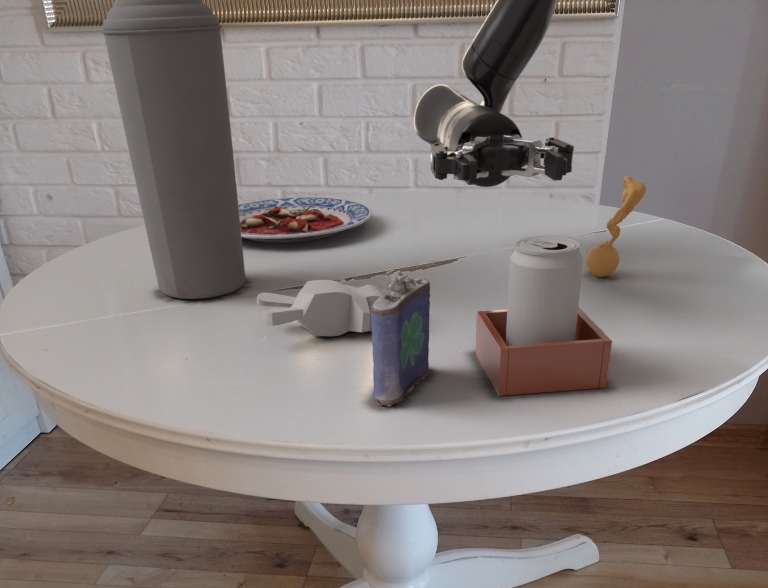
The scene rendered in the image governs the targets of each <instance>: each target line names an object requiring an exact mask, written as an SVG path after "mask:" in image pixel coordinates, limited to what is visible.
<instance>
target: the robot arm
mask: <svg viewBox="0 0 768 588" xmlns="http://www.w3.org/2000/svg"><path fill="white" fill-rule="evenodd" d="M557 1H558V0H496V1H495V4H494V5H493V6H492V8H491V10H490V12H489V13H488V15H487V16H486V18H485V20H484V22H483V23H482V25H481V27H480V28H479V30H478V31H477V33H476V35H475V36H474V38H473V40H472V41H471V43H470V45H469V46H468V48H467V50H466V52H465V54H464V56H463V57H462V61H461V70H462V73H463V75H464V76H465V78H466V79H467V80H468V81H469V82H470V84H472V86H474V88H475V89H476V90H477V91H478V92H479V93H480V95H481V96H482V99H481V102H480V103H478V102H475V101H473V100H472V99H470V98H469V97H467V96H466V95H464V94H462V93H461V92H459V91H458V90H456V89H454V88H452V87H451V86H450V85H447V84H443V83H442V84H435V85H434V86H432V87H430V88H429V89H427V90H426V91H425V92H424V93H423V94H422V96H421V97H420V99H419V100H418V102H417V104H416V107H415V110H414V114H413V127H414V131H415V133H416V135H417V136H418V138H419V139H421V140H422V141H423V142H426V143H427V144H429V145H430V172H431V173H432V175H433V177H434V178H435V179H436V180H439V181H443V180H446V179H448V175H453V179H454V180H456V181H463V182H465V183H466V185H468V186H477V187H482V188H491V187H496V186H499V185H501V184H503V183H504V182H505V181H507V180H509V179H510V177H512V176H519V177H520V176H521V177H526V178H531V177H536V176H538V175H540V174H541V175H545V176H547V177H548V178H549V179H551V180H552V181H556V182H557V181H562V180H563V176H566V175H568V174H569V173H572V172H573V171H572V170H573V156H574V151H575V150H574V149H575V146H574V145H572V144H570V143H568V142H566V141H563V140H560V139H559V138H555V137H552V136H551V137H549V138H545V141H544V144H543V143H542V141H541V139H534V138H526V137H523V136H522V133H521V130H520V129H519V127H518V126H517V124H516V123H515V121H513V120H512V119H511V118H510V117H508V116H507V115H505V114H503V113H502V111H503V108H504V105H505V103H506V100H507V99H508V96H509V94H510V92H511V90H512V88H513V87H514V85H515V83H516V82H517V80H518V78H519V77H520V76H521V75H522V73H523V71H524V70H525V69H526V67H527V66H528V64H529V63H530V61H531V60H532V58H533V57H534V55H535V54H536V52H537V50H538V49H539V47H540V45H541V44H542V41H543V40H544V38H545V36H546V34H547V32H548V30H549V27H550V25H551V21H552V19H553V15H554V12H555V9H556V5H557ZM541 159H543V163H542V164H543V165H542V164H541ZM526 166H527V167H526ZM525 167H526V168H525Z"/></svg>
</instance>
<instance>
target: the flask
mask: <svg viewBox="0 0 768 588" xmlns="http://www.w3.org/2000/svg"><path fill="white" fill-rule="evenodd" d="M388 276H390V283H389V284H388V286H387V287H388V290H386V291H385V292H384V293H383V295H381V296H380V297H379V298H378V299H377V300H376V301H375V302H374V303H373V305H372V307H371V323H372V332H371V340H372V342H371V343H372V361H373V362H372V363H373V365H372V366H373V367H372V376H373V377H372V378H373V379H372V380H373V399H374V402H375V404H377V406H387V407H388V408H389V407H392V406H393V405H395V404H399V403H401V402H402V401H403V400H404V397H405V396H406V395H408V394H410V393H411V392H413V390H414V387H415V385H419V382H420V381H421V380H424V379H425V378H426V377H427V376H428V375H429V374H430V368H429V367H430V366H429V365H430V363H429V356H430V355H429V353H430V346H429V345H430V310H431V300H430V298H431V283H430V281H429V280H428V279H425V278H421V277H415V276H414V277H409V275H408V274H407V273H406V274H404V273H403V272H402V271H401V270H396V269H390V270H388V271H387V272H386V274H385V276H384V278H385V279H387V278H388Z"/></svg>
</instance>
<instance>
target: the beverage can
mask: <svg viewBox="0 0 768 588" xmlns="http://www.w3.org/2000/svg"><path fill="white" fill-rule="evenodd" d="M580 248H581V243H580V242H579V241H578V240H576V239H574V238H569V237H565V236H559V235H537V236H536V235H535V236H528V237H524V238H521V239H518V240H516V241H515V243H514V251H513V252H512V254H511V255H510V257H509V271H508V286H507V306H506V309H507V326H506V345H507V346H513V345H526V344H540V343H553V342H567V341H575V334H576V324H577V314H578V307H579V304H580V294H581V283H582V275H583V273H582V272H583V264H584V257H583V256H582V253H581V252H580Z"/></svg>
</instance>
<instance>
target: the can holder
mask: <svg viewBox="0 0 768 588" xmlns="http://www.w3.org/2000/svg"><path fill="white" fill-rule="evenodd" d="M506 326H507V308H506V309H491V310H477V311H476V327H475V356H476V358H477V360H478V363H479V364H480V365H481V367H482V369H483V371H484V373H485V374H486V376H487V378H488V380H489V381H490V383H491V385H492V387H493V388H494V390H495V392H496V395H497V396H498V397H505V396H515V395H517V396H518V395H529V394H542V393H553V392H554V393H555V392H566V391H578V390H579V391H580V390H591V389H592V390H593V389H606V388H607V382H608V374H609V367H610V360H611V359H610V358H611V353H612V351H611V350H612V343H613V341H612V339H611V338H610V337H609V336H608V335H607V334H606V333H605V332H604V331H603V330H602V329H601V328H600V327H599V326H598V325H597V324H596V323H595V322H594V321H593V320H592V319H591V318H590V317H589V315H587V314H586V313H585V312H584V310H582V308H581V307H580V306H578V314H577V324H576V334H575V341H567V342H553V343H540V344H526V345H513V346H507V345H506Z"/></svg>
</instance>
